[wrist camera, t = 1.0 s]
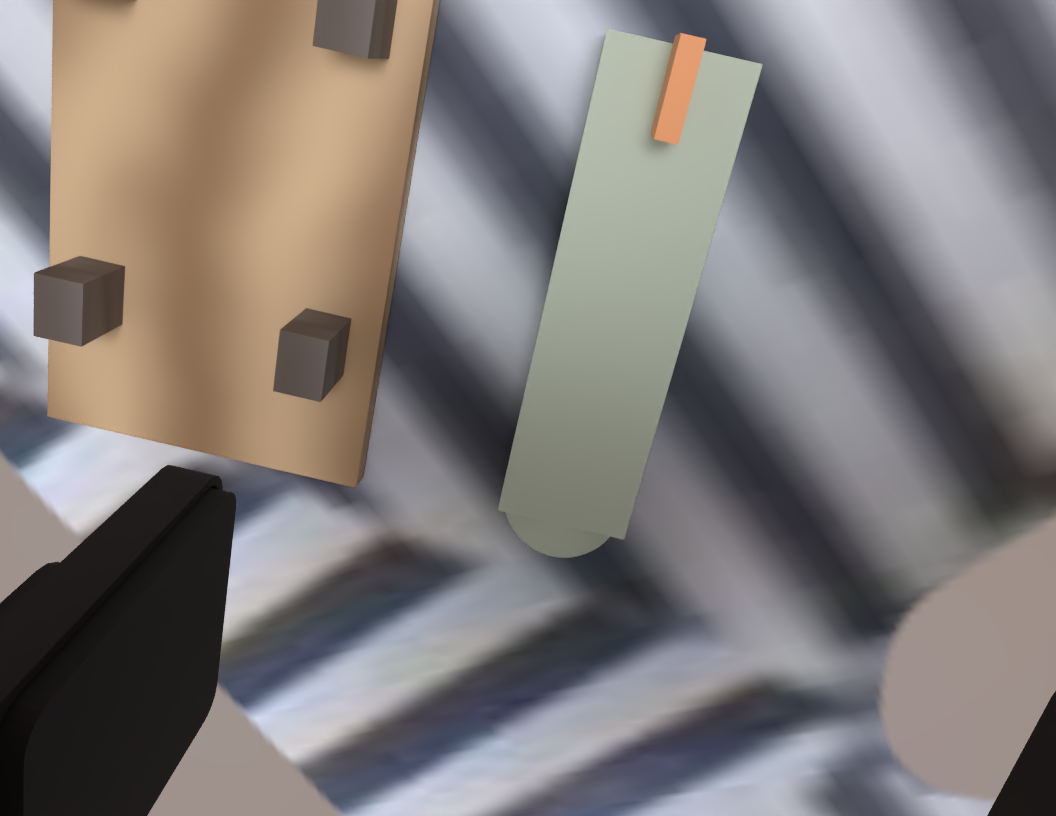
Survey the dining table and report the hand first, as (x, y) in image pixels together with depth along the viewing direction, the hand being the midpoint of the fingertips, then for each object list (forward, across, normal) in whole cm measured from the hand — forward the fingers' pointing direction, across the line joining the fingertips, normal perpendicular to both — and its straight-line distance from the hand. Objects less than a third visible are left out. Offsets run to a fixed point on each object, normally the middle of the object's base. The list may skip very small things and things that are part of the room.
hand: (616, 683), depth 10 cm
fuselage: (+20, 0, 0) cm, 20 cm away
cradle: (+20, +12, -1) cm, 24 cm away
